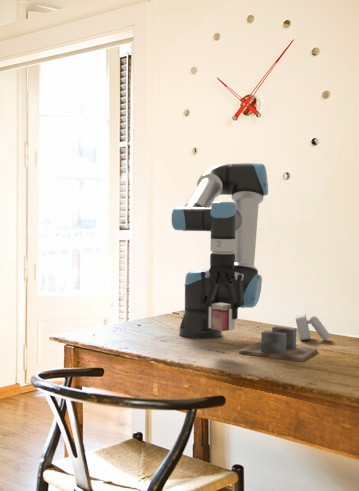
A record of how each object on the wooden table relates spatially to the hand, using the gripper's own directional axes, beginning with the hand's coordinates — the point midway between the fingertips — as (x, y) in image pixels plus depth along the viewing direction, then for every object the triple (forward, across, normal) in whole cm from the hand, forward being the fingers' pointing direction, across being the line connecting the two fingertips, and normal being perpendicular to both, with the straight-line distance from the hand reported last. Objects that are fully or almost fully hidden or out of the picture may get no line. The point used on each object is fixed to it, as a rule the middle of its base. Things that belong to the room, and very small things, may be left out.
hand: (221, 328), depth 194 cm
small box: (+1, 0, 0) cm, 1 cm away
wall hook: (+9, +17, +39) cm, 44 cm away
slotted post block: (+8, +14, +12) cm, 20 cm away
